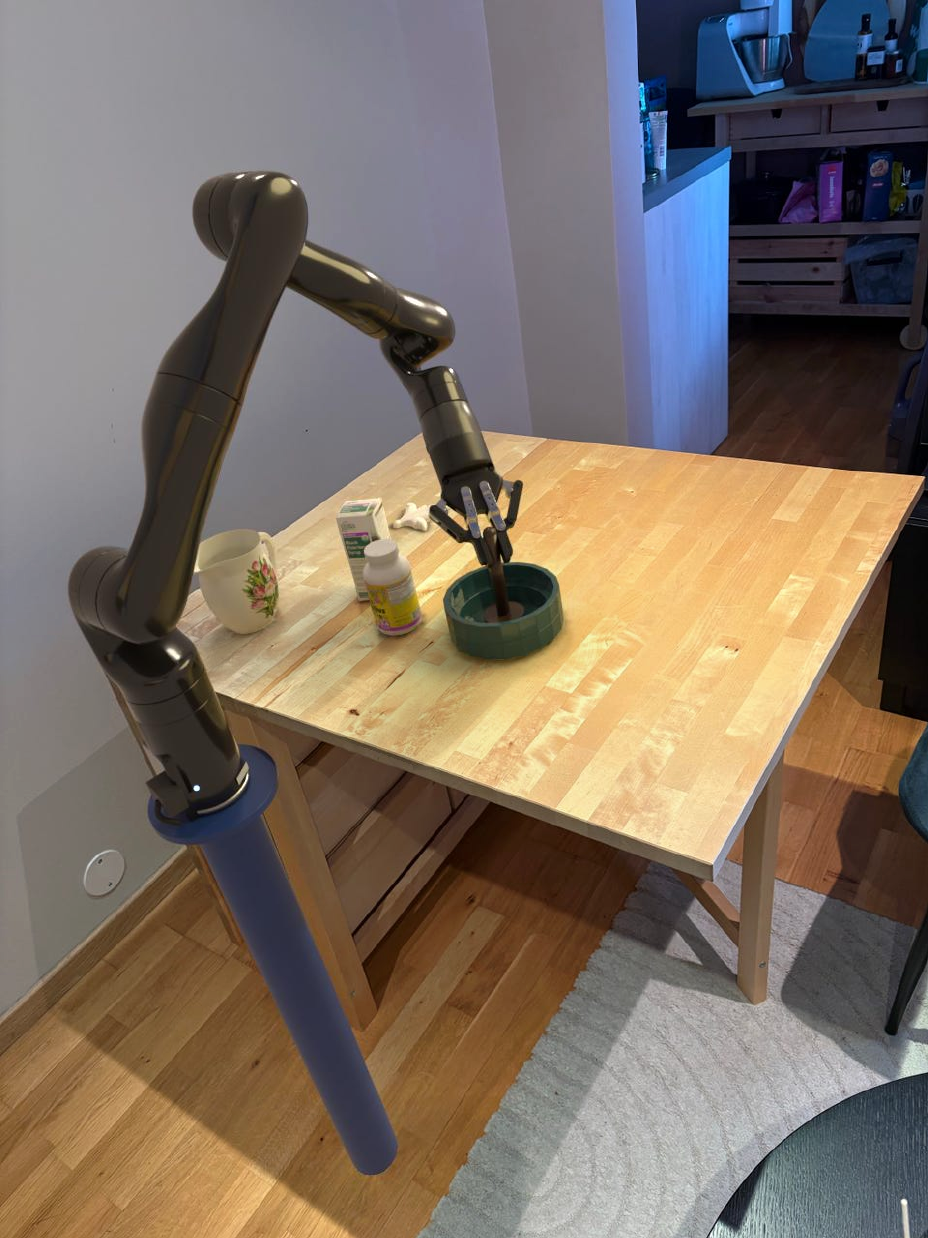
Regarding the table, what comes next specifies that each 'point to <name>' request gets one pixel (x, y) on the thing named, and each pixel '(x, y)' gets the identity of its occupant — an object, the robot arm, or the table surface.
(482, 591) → the bowl
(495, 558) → the brown peg on disc
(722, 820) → the table surface
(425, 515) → the acanthus leaf ornament
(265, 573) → the pitcher
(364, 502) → the syrup box
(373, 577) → the supplement bottle
